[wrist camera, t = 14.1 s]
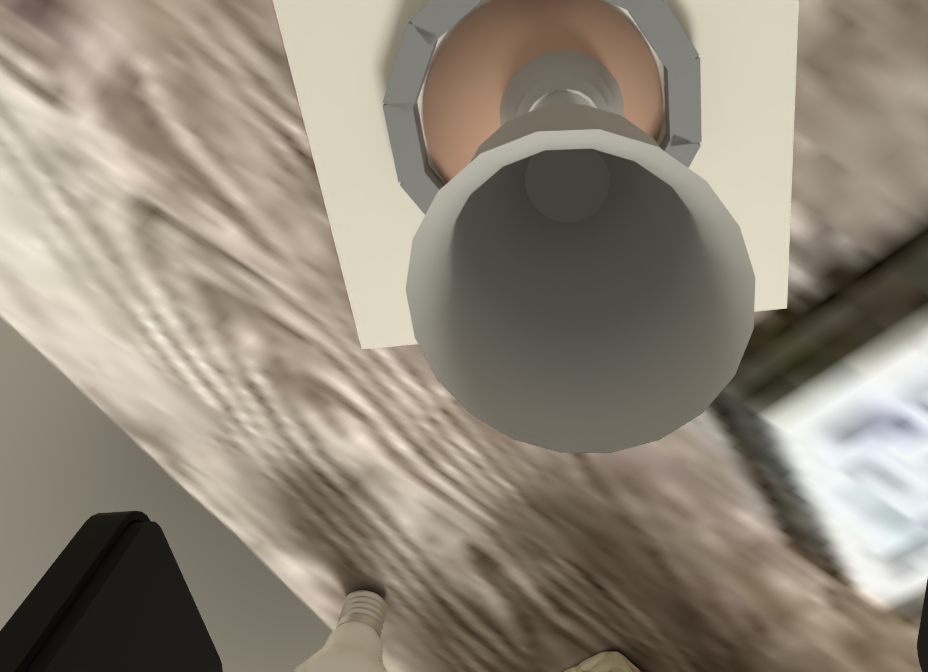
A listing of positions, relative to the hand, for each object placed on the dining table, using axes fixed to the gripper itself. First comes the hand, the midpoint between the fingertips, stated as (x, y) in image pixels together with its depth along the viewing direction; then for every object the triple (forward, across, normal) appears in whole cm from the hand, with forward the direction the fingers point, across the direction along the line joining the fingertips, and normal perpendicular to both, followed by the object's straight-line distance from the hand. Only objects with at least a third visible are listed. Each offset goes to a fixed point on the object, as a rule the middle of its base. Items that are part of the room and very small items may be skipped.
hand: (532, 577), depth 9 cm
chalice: (+25, -1, 0) cm, 25 cm away
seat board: (+26, 0, 0) cm, 26 cm away
